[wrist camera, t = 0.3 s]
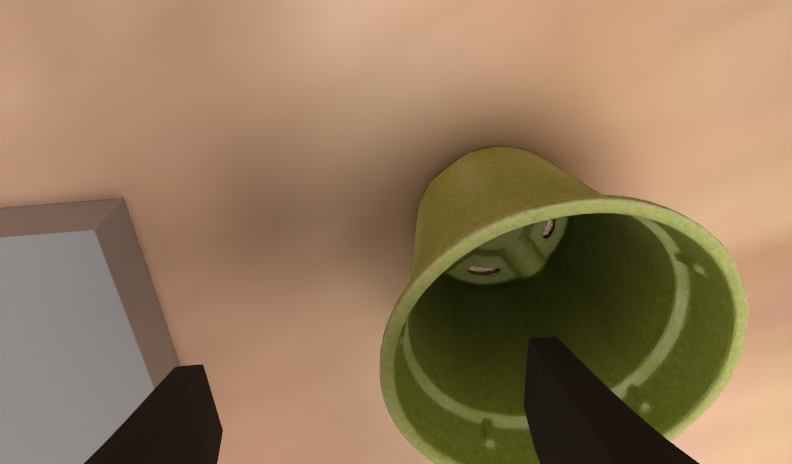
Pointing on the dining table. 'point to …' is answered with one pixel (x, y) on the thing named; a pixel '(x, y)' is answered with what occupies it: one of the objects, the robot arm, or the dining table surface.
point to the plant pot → (552, 306)
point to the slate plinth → (74, 330)
